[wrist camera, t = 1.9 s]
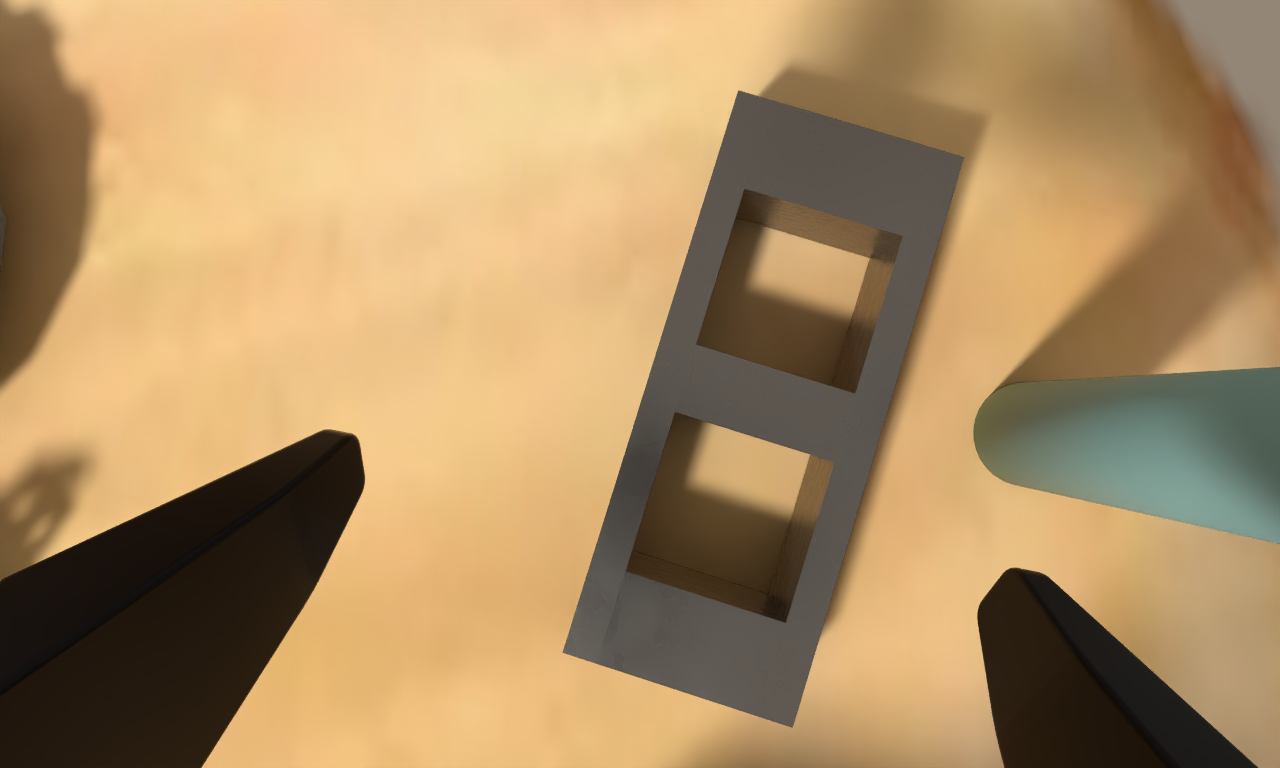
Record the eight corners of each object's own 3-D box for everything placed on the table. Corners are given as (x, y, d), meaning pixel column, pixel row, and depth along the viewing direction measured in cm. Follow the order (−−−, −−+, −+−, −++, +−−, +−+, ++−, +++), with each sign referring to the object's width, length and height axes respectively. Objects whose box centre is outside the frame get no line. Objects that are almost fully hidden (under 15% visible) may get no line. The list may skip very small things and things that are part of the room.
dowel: (1090, 473, 23) (1683, 566, 10) (987, 496, 23) (1440, 621, 10) (1063, 372, 23) (1612, 328, 10) (962, 395, 23) (1373, 383, 10)
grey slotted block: (773, 684, 23) (792, 727, 20) (574, 619, 23) (562, 652, 20) (923, 189, 23) (964, 157, 20) (727, 130, 23) (738, 90, 20)
